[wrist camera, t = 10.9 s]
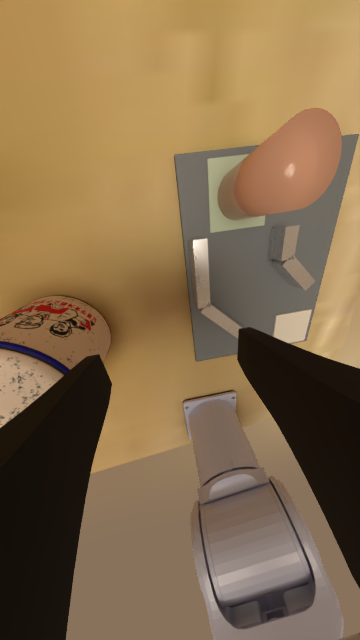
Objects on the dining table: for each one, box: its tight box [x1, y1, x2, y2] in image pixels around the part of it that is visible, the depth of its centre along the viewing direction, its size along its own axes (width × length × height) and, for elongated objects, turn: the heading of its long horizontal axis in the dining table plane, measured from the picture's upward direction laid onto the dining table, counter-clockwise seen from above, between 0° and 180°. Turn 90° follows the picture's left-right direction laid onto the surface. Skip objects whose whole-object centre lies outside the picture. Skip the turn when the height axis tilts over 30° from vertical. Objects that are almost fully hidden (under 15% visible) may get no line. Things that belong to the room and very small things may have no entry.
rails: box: [188, 225, 315, 339], centre depth 17 cm, size 12×12×2 cm
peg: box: [217, 108, 342, 220], centre depth 11 cm, size 4×4×7 cm
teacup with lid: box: [0, 296, 111, 428], centre depth 13 cm, size 12×9×12 cm
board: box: [174, 134, 359, 362], centre depth 18 cm, size 20×15×1 cm
